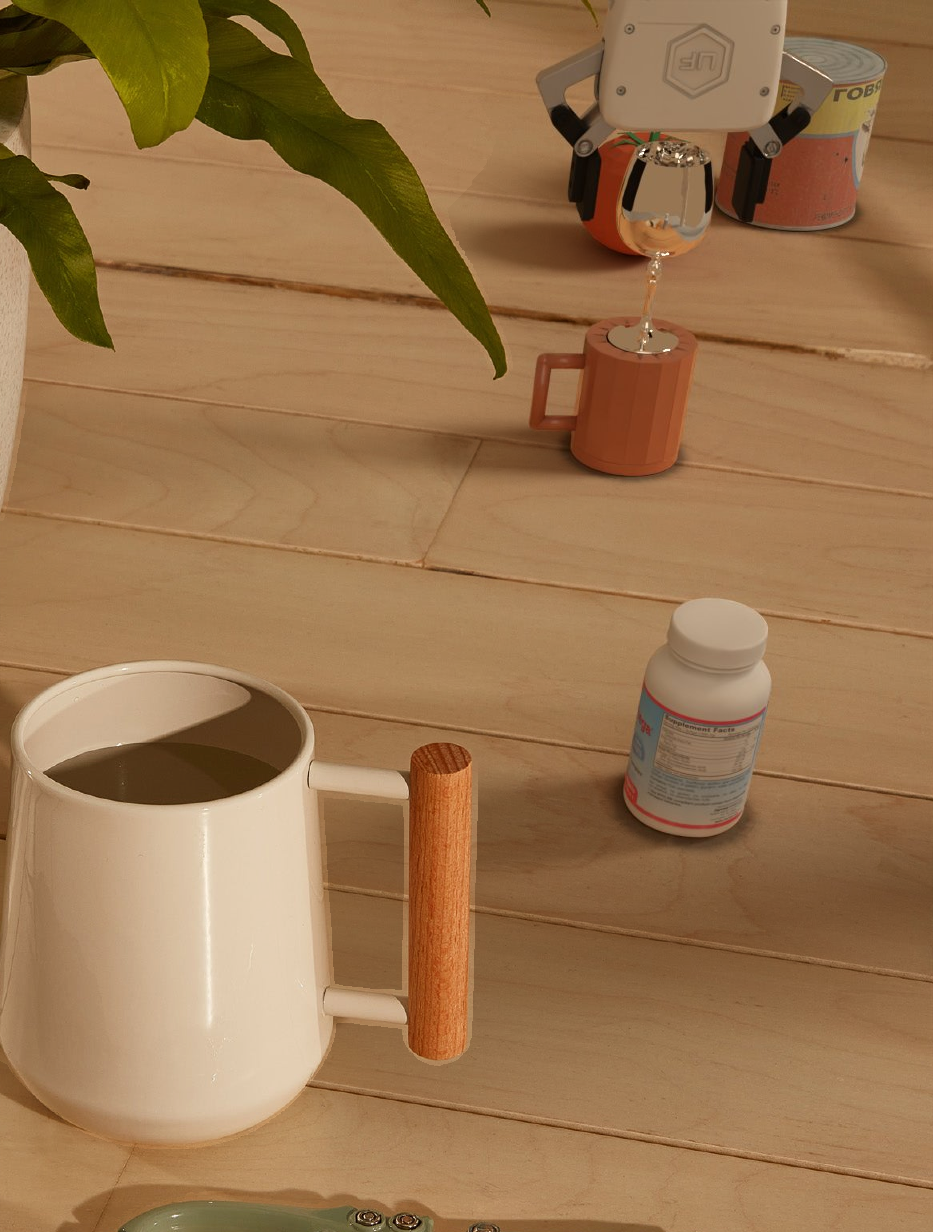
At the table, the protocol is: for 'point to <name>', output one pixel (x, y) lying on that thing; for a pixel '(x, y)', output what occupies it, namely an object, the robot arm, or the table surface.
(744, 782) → the pill bottle
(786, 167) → the canned food
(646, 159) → the wineglass
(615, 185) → the tomato
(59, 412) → the table surface
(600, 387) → the mug
